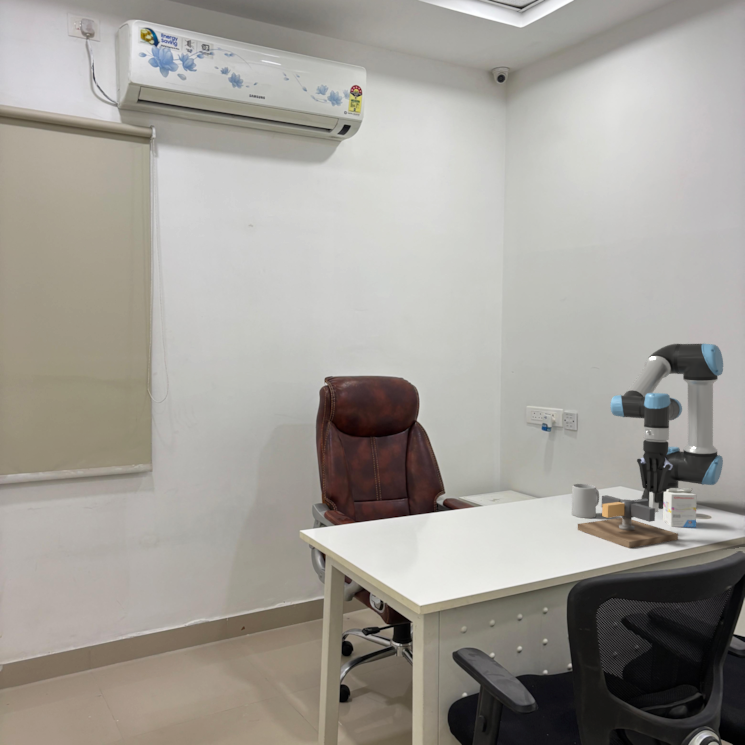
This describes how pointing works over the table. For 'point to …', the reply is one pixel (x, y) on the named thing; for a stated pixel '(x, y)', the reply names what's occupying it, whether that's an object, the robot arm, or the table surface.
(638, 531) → the stud base
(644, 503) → the grey bar cross
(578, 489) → the mug
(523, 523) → the table surface
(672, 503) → the ink box
